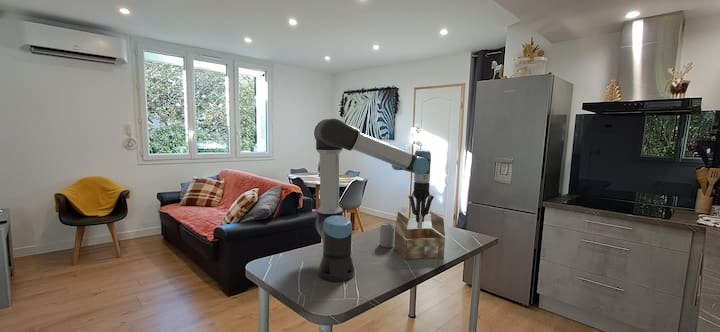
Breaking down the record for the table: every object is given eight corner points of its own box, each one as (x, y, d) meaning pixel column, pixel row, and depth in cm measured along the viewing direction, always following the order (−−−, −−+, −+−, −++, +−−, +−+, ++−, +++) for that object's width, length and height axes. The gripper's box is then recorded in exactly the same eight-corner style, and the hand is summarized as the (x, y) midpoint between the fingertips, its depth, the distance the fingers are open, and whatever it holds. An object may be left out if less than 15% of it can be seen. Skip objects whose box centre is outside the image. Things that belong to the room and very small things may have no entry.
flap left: (404, 237, 151) (403, 237, 151) (395, 228, 165) (394, 228, 164) (408, 218, 150) (407, 218, 150) (399, 211, 164) (398, 211, 164)
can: (392, 248, 166) (393, 226, 164) (378, 247, 167) (379, 224, 166) (394, 244, 173) (395, 222, 172) (380, 242, 174) (381, 221, 173)
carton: (405, 260, 150) (406, 240, 149) (393, 247, 167) (394, 229, 166) (444, 258, 155) (445, 238, 154) (429, 246, 171) (430, 227, 170)
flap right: (442, 218, 154) (443, 217, 154) (430, 210, 168) (431, 210, 168) (444, 236, 155) (445, 235, 155) (432, 227, 169) (432, 227, 169)
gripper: (412, 183, 152) (409, 231, 155) (437, 182, 155) (434, 230, 157) (406, 180, 160) (404, 226, 162) (430, 180, 162) (428, 225, 165)
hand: (419, 228), depth 160 cm, fingers closed
